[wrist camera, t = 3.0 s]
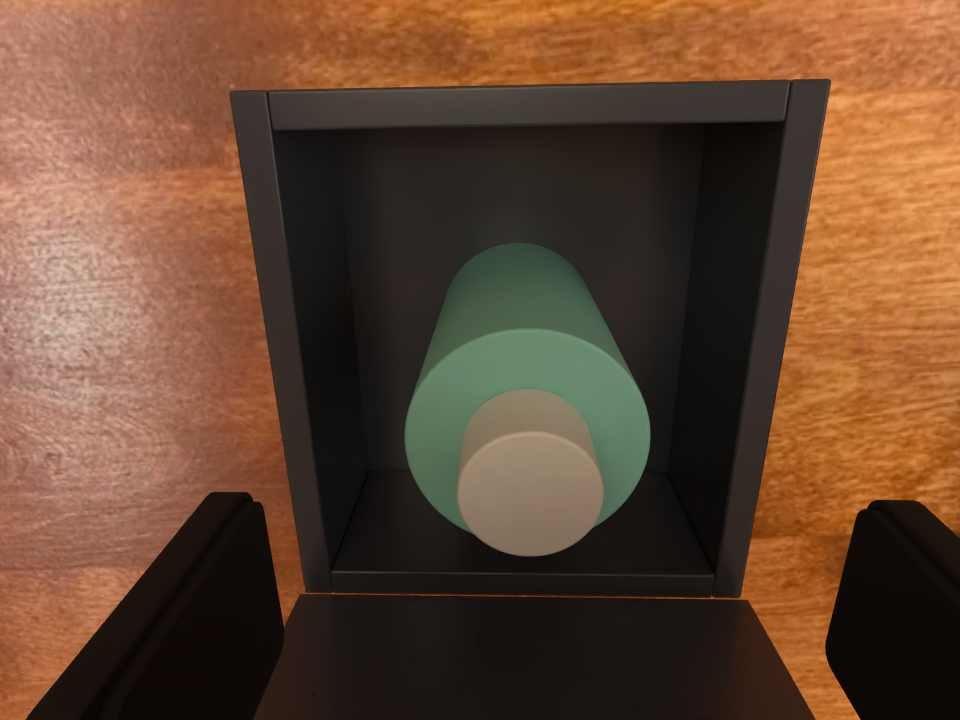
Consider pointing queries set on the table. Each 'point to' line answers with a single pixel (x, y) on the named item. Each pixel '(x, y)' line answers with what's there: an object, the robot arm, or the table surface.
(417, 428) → the bottle
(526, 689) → the lid
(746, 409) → the open gift box
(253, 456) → the table surface
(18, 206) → the table surface
